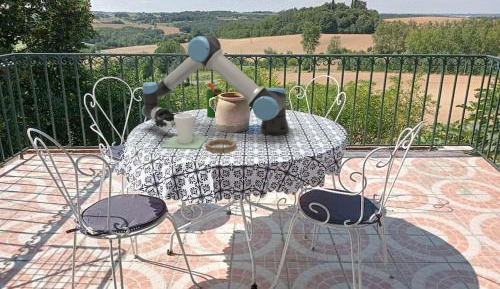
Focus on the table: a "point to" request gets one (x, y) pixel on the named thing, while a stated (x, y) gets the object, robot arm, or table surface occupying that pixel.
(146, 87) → the robot arm
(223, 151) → the collar
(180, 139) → the foam cup
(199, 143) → the mat
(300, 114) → the table surface
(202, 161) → the table surface
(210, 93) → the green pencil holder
